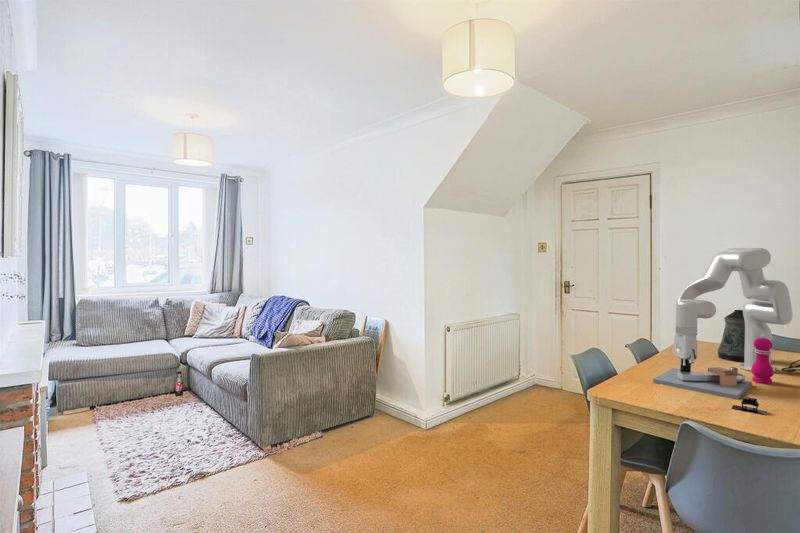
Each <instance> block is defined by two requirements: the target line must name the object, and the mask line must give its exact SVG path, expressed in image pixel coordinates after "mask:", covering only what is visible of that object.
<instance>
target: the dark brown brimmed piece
mask: <svg viewBox="0 0 800 533" xmlns="http://www.w3.org/2000/svg"><path fill="white" fill-rule="evenodd" d="M740 404H741V405H737V404H732V407H731V410H735V411H741V412H745V413H751V414H756V415H761V416H766V417H767V416H768V411H767V410H763V409H759V405H760V403H759V401H758V398H754V397H750V396H743V398H742V399H741V402H740ZM747 405H749V406H747ZM751 406H753V407H751Z"/></svg>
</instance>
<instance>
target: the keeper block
mask: <svg viewBox="0 0 800 533" xmlns="http://www.w3.org/2000/svg"><path fill="white" fill-rule="evenodd" d="M707 372H709V373H715V374H718V375H720V385H722V386H735V385H737V372H736V371H732V370H730V368H729V369H728V368H725V367H720V366H718V367H717V366H714V367H707Z"/></svg>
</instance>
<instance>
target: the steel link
mask: <svg viewBox="0 0 800 533" xmlns="http://www.w3.org/2000/svg"><path fill="white" fill-rule="evenodd" d="M729 370H732V371H736V372H737V382H745V381H746V375H743V374H742V373H739V371H738V370H739V369H738V367H734V366H730V368H729ZM677 378H679V379H681V380H690V381H720V375H718V374H715V373H711V372H708V371H707V372H705V371H703V372H701V371H693V372H677Z"/></svg>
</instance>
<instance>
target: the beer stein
mask: <svg viewBox="0 0 800 533" xmlns="http://www.w3.org/2000/svg"><path fill="white" fill-rule="evenodd" d="M723 319H724V322H725V325H724V330H723V333H722V338H721V341H720V343H719V346H718V349H717V355H718V356H717V357H718V358H719V359H721V360H724V361H729V362H735V363H741V364H744V350H745V321H744V316H743V309H734V310H733V312H731V313H729V314H727V315H726V316H725V317H724V318H723Z"/></svg>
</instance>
